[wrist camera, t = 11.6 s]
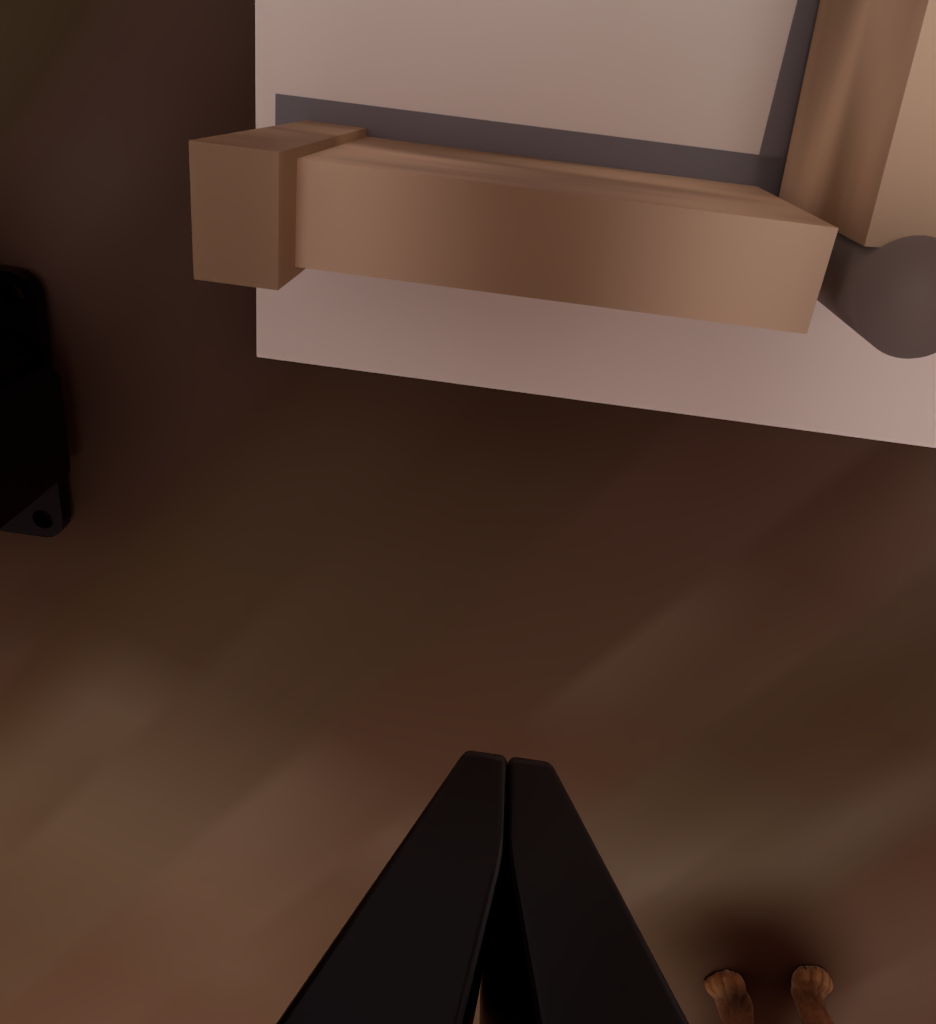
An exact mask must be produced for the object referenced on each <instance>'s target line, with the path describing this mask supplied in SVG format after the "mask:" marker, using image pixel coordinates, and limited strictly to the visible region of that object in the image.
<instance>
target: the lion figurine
mask: <svg viewBox="0 0 936 1024" xmlns="http://www.w3.org/2000/svg"><path fill="white" fill-rule="evenodd" d="M704 985H705V988H706V990H707V992H708V993H709V994H710V995H711V996H712V997H713V998H714V1000H715V1002H716V1005H717V1008H718V1012H719V1016H720V1019H721V1022H722V1024H754V1011H753V1004H752V1000H751V998H750V996H749V995H748V993H747V992H746V986H745V982H744V980H743V978H742V977H741V976H740V975H739V974H738V973H737V972H733V971H729V970H727V969H725V970H722V971H721V972H716V973H714V974H713V975H712V976H710V977H707V978H706V979H705V980H704ZM791 985H792V987H791V990H790V992H791V996H792V998H793V1000H794V1001H795V1003H796V1007H797V1010H798V1013H799V1016H800V1019H801V1021H802V1023H803V1024H833V1022H832V1020H831V1018H830V1016H829V1014H828V1012H827V1010H826V1008H825V1005H824V999H825V997H826V996H827V995H828V994H829V993H830V992H831V991H832V989H833V983H832V980H831V977H830V975H829V974H828V973H827V971H826V970H824V969H823V968H821V967H819V966H800V967H798V968H797V969H796V970H795V971H794V973H793V975H792V980H791Z"/></svg>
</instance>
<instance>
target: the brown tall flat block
mask: <svg viewBox="0 0 936 1024" xmlns="http://www.w3.org/2000/svg"><path fill="white" fill-rule="evenodd" d="M779 198H781V199H783V200H785V201H787V202H788V203H790V204H792V205H794V206H796V207H798V208H800V209H802V210H804V211H806V212H808V213H810V214H812V215H814V216H816V217H818V218H820V219H822V220H824V221H826V222H828V223H830V224H831V225H833V226H835V227H837V228H839V229H838V232H837V235H836V239H835V242H834V245H833V249H832V252H831V255H830V259H829V262H828V265H827V269H826V272H825V275H824V279H823V282H822V285H821V289H820V292H819V295H818V298H817V300H818V301H819V302H820V303H821V304H822V305H824V306H825V307H826V308H827V309H829V310H830V311H831V312H832V313H833V314H835V315H836V316H837V317H838V318H840V319H841V320H842V321H843V322H844V323H846V324H847V325H848V326H849V327H851V328H852V329H853V330H854V331H855V332H857V333H858V334H859V335H860V336H862V337H863V338H864V339H865V340H866V341H868V342H869V343H870V344H871V345H872V346H874V347H875V348H876V349H878V350H879V351H881V352H882V353H884V354H887V355H889V356H892V357H896V358H903V359H913V358H921V357H925V356H929V355H932V354H934V353H936V0H820V3H819V8H818V13H817V18H816V22H815V27H814V32H813V36H812V41H811V46H810V51H809V55H808V60H807V65H806V70H805V74H804V79H803V84H802V89H801V93H800V98H799V103H798V108H797V112H796V117H795V122H794V126H793V131H792V136H791V141H790V145H789V150H788V155H787V160H786V164H785V169H784V174H783V179H782V183H781V188H780V193H779Z"/></svg>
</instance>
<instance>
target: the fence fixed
mask: <svg viewBox="0 0 936 1024" xmlns="http://www.w3.org/2000/svg"><path fill="white" fill-rule="evenodd" d="M189 165H190V191H191V218H192V245H193V271H194V279H196V280H203V281H211V282H218V283H226V284H233V285H241V286H249V287H256V288H264V289H271V290H279V289H281V288H282V287H283V286H284V285H286V284H287V283H288V282H289V281H291V280H292V279H293V278H295V277H296V276H297V275H298V274H300V273H301V272H302V271H303V270H305V269H306V268H307V269H315V270H323V271H330V272H338V273H345V274H353V275H361V276H368V277H376V278H383V279H391V280H399V281H406V282H414V283H421V284H429V285H437V286H444V287H452V288H459V289H467V290H475V291H482V292H490V293H498V294H505V295H513V296H520V297H528V298H536V299H543V300H551V301H558V302H566V303H574V304H581V305H589V306H596V307H604V308H612V309H619V310H627V311H634V312H642V313H650V314H657V315H665V316H672V317H680V318H688V319H695V320H703V321H710V322H718V323H726V324H733V325H741V326H748V327H756V328H764V329H771V330H779V331H787V332H794V333H802V334H807V332H808V328H809V325H810V322H811V318H812V315H813V312H814V308H815V305H816V302H817V298H818V295H819V292H820V289H821V285H822V282H823V279H824V275H825V272H826V269H827V265H828V262H829V259H830V255H831V252H832V249H833V245H834V242H835V239H836V235H837V232H838V229H839V228H837V227H835V226H833V225H831V224H830V223H828V222H826V221H824V220H822V219H820V218H818V217H816V216H814V215H812V214H810V213H808V212H806V211H804V210H802V209H800V208H798V207H796V206H794V205H792V204H790V203H788V202H787V201H785V200H783V199H781V198H779V197H777V196H775V195H773V194H771V193H769V192H767V191H765V190H763V189H761V188H759V187H757V186H750V185H743V184H735V183H727V182H719V181H711V180H703V179H696V178H688V177H680V176H672V175H664V174H656V173H649V172H641V171H633V170H625V169H617V168H609V167H602V166H594V165H586V164H578V163H570V162H562V161H555V160H547V159H539V158H531V157H523V156H515V155H508V154H500V153H492V152H484V151H476V150H468V149H461V148H453V147H445V146H437V145H429V144H421V143H414V142H406V141H398V140H390V139H382V138H374V137H367V128H362V127H354V126H347V125H339V124H331V123H323V122H315V121H307V120H305V121H299V122H293V123H287V124H281V125H275V126H269V127H264V128H258V129H252V130H246V131H240V132H234V133H229V134H223V135H217V136H211V137H205V138H199V139H193V140H189Z"/></svg>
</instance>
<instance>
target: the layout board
mask: <svg viewBox="0 0 936 1024" xmlns="http://www.w3.org/2000/svg"><path fill="white" fill-rule="evenodd" d="M819 3H820V0H255V85H256V129H258V128H264V127H269V126H275V125H281V124H287V123H293V122H299V121H305V120H307V121H315V122H323V123H331V124H339V125H347V126H354V127H362V128H367V137H374V138H382V139H390V140H398V141H406V142H414V143H421V144H429V145H437V146H445V147H453V148H461V149H468V150H476V151H484V152H492V153H500V154H508V155H515V156H523V157H531V158H539V159H547V160H555V161H562V162H570V163H578V164H586V165H594V166H602V167H609V168H617V169H625V170H633V171H641V172H649V173H656V174H664V175H672V176H680V177H688V178H696V179H703V180H711V181H719V182H727V183H735V184H743V185H750V186H757V187H759V188H761V189H763V190H765V191H767V192H769V193H771V194H773V195H775V196H777V197H779V193H780V188H781V183H782V179H783V174H784V169H785V164H786V160H787V155H788V150H789V145H790V141H791V136H792V131H793V126H794V122H795V117H796V112H797V108H798V103H799V98H800V93H801V89H802V84H803V79H804V74H805V70H806V65H807V60H808V55H809V51H810V46H811V41H812V36H813V32H814V27H815V22H816V18H817V13H818V8H819ZM256 337H257V357H261V358H269V359H276V360H284V361H291V362H299V363H306V364H314V365H321V366H328V367H336V368H343V369H351V370H358V371H366V372H373V373H381V374H388V375H396V376H403V377H410V378H418V379H425V380H433V381H440V382H448V383H455V384H463V385H470V386H478V387H485V388H493V389H500V390H507V391H515V392H522V393H530V394H537V395H545V396H552V397H560V398H567V399H575V400H582V401H589V402H597V403H604V404H612V405H619V406H627V407H634V408H642V409H649V410H657V411H664V412H671V413H679V414H686V415H694V416H701V417H709V418H716V419H724V420H731V421H739V422H746V423H754V424H761V425H768V426H776V427H783V428H791V429H798V430H806V431H813V432H821V433H828V434H836V435H843V436H850V437H858V438H865V439H873V440H880V441H888V442H895V443H903V444H910V445H918V446H925V447H933V448H936V353H934V354H932V355H929V356H925V357H921V358H913V359H903V358H896V357H892V356H889V355H887V354H884V353H882V352H881V351H879V350H878V349H876V348H875V347H874V346H872V345H871V344H870V343H869V342H868V341H866V340H865V339H864V338H863V337H862V336H860V335H859V334H858V333H857V332H855V331H854V330H853V329H852V328H851V327H849V326H848V325H847V324H846V323H844V322H843V321H842V320H841V319H840V318H838V317H837V316H836V315H835V314H833V313H832V312H831V311H830V310H829V309H827V308H826V307H825V306H824V305H822V304H821V303H820V302H819V301H818V300H817V302H816V305H815V308H814V312H813V315H812V318H811V322H810V325H809V328H808V332H807V334H802V333H794V332H787V331H779V330H771V329H764V328H756V327H748V326H741V325H733V324H726V323H718V322H710V321H703V320H695V319H688V318H680V317H672V316H665V315H657V314H650V313H642V312H634V311H627V310H619V309H612V308H604V307H596V306H589V305H581V304H574V303H566V302H558V301H551V300H543V299H536V298H528V297H520V296H513V295H505V294H498V293H490V292H482V291H475V290H467V289H459V288H452V287H444V286H437V285H429V284H421V283H414V282H406V281H399V280H391V279H383V278H376V277H368V276H361V275H353V274H345V273H338V272H330V271H323V270H315V269H307V268H306V269H305V270H303V271H302V272H301V273H300V274H298V275H297V276H296V277H295V278H293V279H292V280H291V281H289V282H288V283H287V284H286V285H284V286H283V287H282V288H281V289H279V290H271V289H264V288H256Z"/></svg>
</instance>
